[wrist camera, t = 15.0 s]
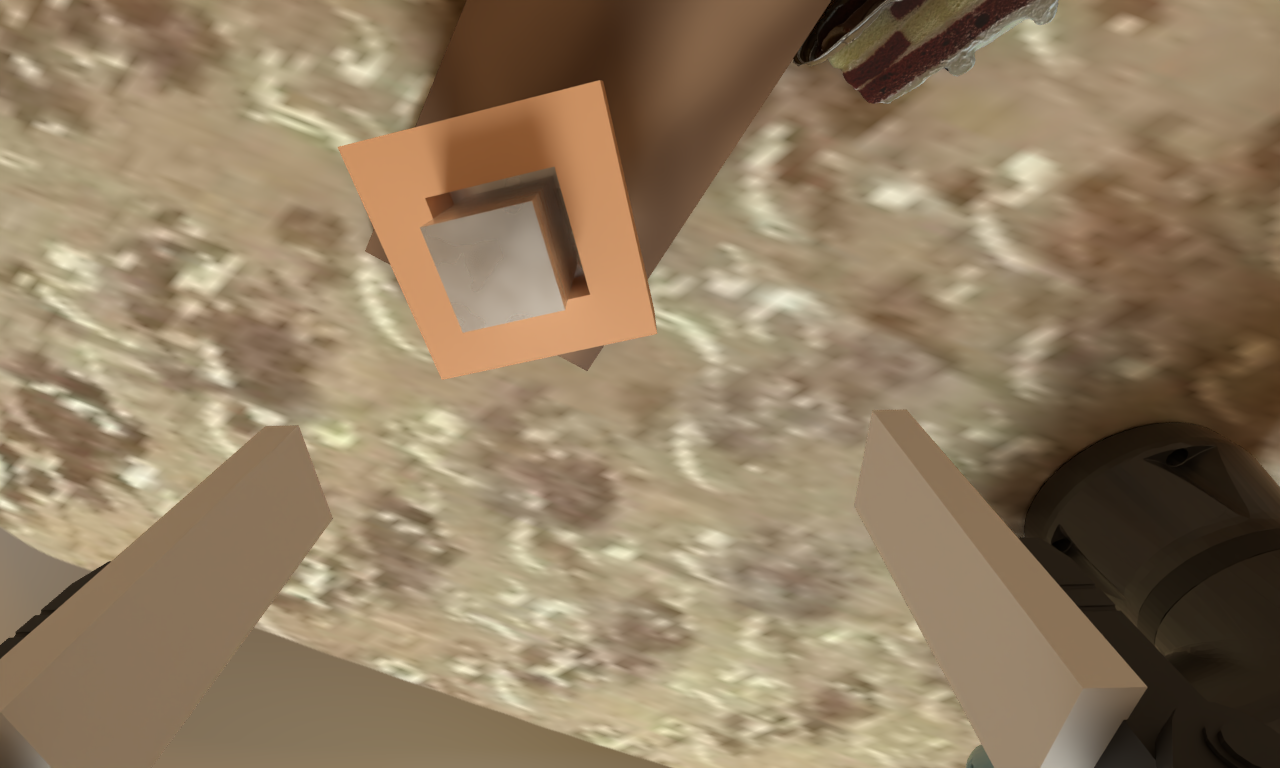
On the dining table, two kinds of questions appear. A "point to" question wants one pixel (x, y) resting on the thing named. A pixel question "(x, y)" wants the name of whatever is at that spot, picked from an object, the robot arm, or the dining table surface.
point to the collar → (493, 150)
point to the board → (631, 85)
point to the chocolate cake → (911, 39)
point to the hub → (505, 250)
